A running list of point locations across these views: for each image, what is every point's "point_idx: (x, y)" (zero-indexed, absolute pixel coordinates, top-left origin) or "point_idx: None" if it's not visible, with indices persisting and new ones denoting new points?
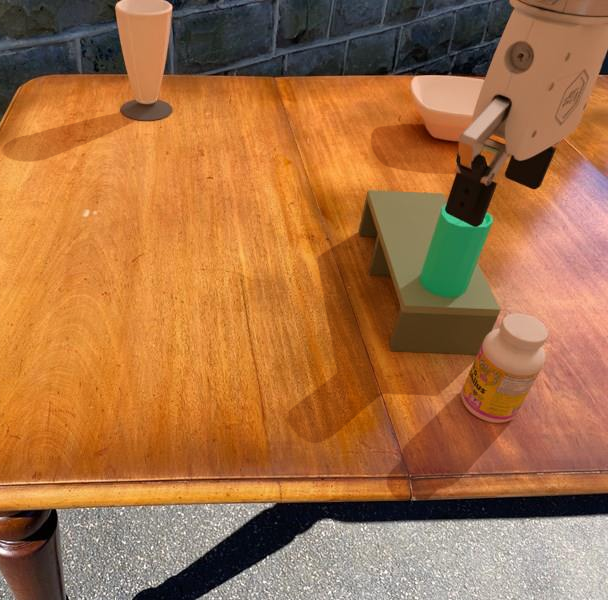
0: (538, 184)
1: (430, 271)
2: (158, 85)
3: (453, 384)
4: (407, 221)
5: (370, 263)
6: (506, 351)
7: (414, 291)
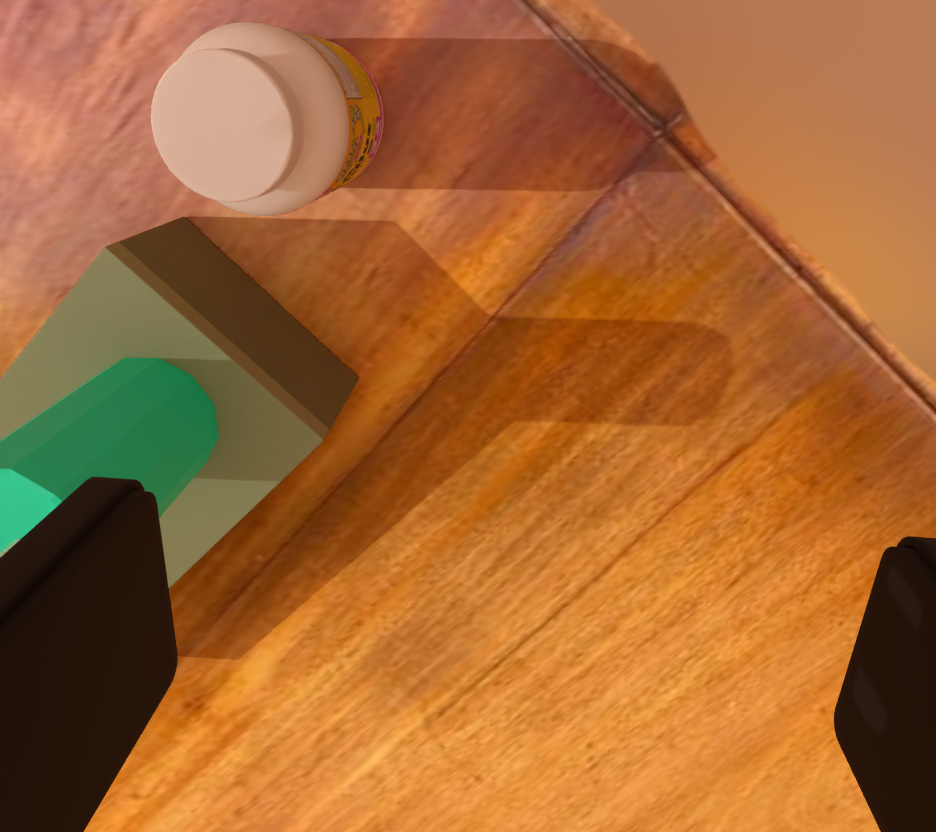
0: (119, 496)
1: (192, 468)
2: None
3: (329, 212)
4: None
5: None
6: (309, 131)
7: (253, 452)
